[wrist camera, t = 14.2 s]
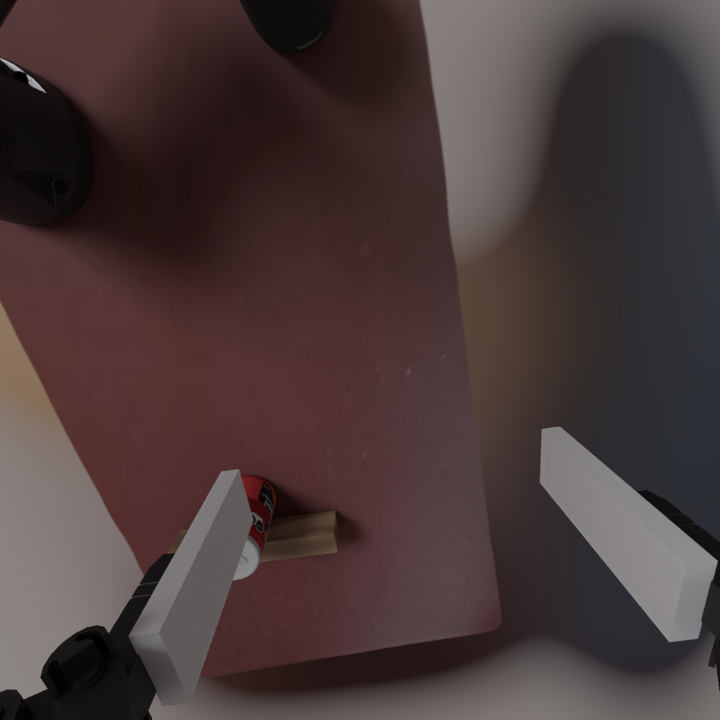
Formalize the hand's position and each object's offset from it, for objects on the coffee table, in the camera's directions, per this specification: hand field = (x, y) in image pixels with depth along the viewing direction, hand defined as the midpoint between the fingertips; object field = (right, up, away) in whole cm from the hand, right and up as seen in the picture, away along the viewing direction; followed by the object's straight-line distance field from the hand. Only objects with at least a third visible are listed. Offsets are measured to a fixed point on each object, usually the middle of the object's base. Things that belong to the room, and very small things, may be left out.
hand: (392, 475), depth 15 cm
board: (-17, -21, +39) cm, 47 cm away
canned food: (-18, -15, +37) cm, 44 cm away
